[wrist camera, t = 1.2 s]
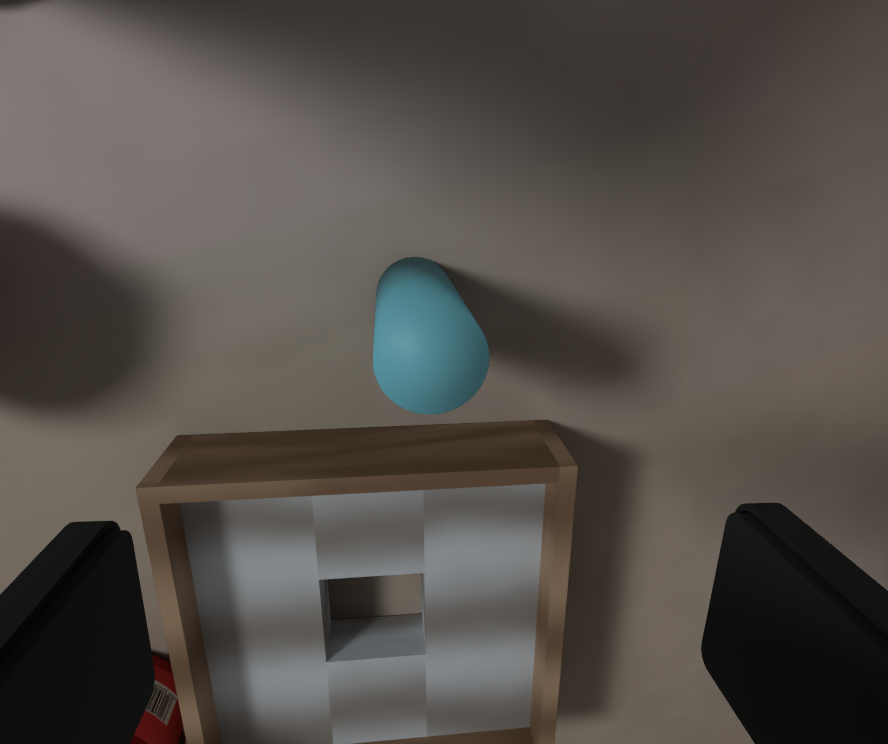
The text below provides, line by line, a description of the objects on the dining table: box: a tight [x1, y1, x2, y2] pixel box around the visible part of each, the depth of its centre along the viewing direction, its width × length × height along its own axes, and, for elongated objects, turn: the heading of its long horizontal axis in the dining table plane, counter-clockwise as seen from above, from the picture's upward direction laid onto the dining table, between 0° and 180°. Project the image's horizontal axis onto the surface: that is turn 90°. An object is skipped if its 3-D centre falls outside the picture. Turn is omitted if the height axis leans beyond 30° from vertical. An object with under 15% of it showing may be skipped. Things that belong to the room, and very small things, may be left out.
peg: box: [373, 257, 489, 414], centre depth 22 cm, size 4×4×10 cm
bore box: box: [136, 420, 578, 744], centre depth 30 cm, size 19×19×5 cm
